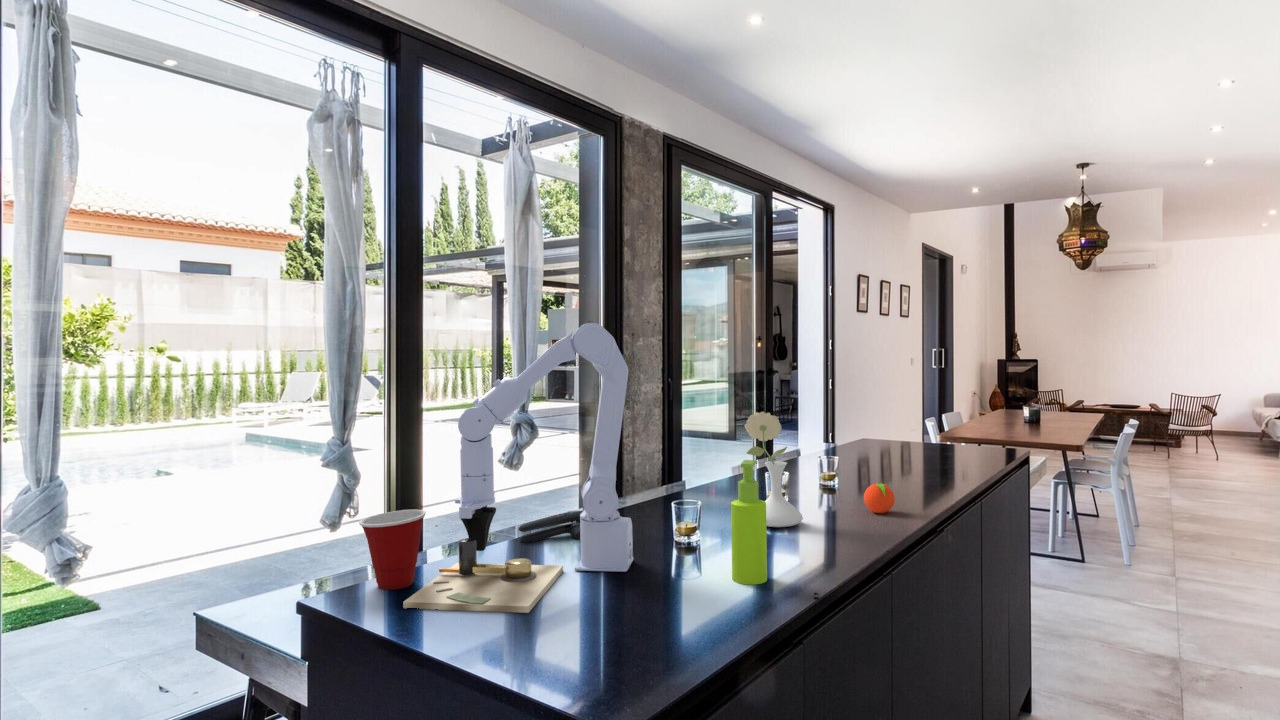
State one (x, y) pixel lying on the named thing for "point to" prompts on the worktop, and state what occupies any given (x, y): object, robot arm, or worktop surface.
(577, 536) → the can opener
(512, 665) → the worktop surface
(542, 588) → the dial board
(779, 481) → the flower in vase
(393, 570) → the plastic cup
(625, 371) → the robot arm
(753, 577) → the soap dispenser
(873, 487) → the clementine
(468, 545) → the lever
